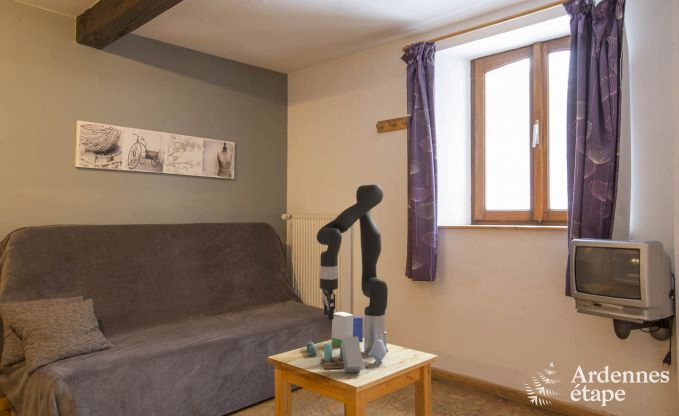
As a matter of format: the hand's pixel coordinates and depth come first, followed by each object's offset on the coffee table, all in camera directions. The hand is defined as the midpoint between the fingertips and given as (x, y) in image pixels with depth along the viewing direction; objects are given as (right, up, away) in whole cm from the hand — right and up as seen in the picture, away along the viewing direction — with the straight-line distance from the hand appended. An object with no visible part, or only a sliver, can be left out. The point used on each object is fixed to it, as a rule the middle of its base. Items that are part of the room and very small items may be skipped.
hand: (328, 317), depth 191 cm
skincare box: (+6, -21, +29) cm, 36 cm away
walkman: (+12, -21, +38) cm, 45 cm away
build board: (+3, -20, 0) cm, 20 cm away
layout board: (-8, -20, +14) cm, 26 cm away
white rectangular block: (+9, -15, -3) cm, 18 cm away
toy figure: (+21, -21, +4) cm, 29 cm away
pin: (0, -20, 0) cm, 20 cm away
